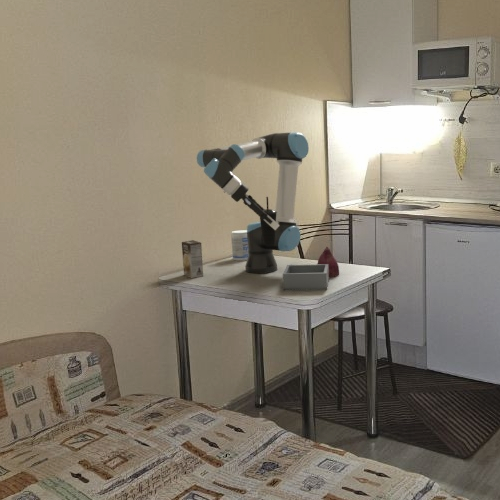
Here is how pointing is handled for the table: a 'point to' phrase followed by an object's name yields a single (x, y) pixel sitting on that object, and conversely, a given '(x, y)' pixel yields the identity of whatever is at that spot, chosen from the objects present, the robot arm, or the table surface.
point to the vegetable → (329, 262)
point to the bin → (306, 277)
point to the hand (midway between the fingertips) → (277, 226)
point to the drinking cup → (268, 227)
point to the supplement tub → (239, 245)
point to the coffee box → (192, 258)
